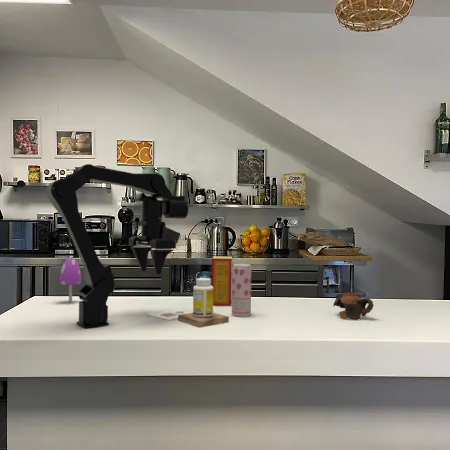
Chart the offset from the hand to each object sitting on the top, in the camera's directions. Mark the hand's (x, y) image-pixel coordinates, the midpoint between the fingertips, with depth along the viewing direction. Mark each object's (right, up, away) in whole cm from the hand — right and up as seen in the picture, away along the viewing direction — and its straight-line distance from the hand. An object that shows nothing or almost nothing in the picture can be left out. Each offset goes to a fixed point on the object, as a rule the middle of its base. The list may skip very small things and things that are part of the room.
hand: (150, 272), depth 122 cm
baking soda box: (+20, -13, +24) cm, 34 cm away
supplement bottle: (+15, -12, -3) cm, 19 cm away
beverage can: (+26, -13, +6) cm, 30 cm away
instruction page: (+6, -13, +5) cm, 15 cm away
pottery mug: (+59, -14, +5) cm, 61 cm away
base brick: (+15, -13, -3) cm, 20 cm away
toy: (-31, -13, +21) cm, 39 cm away
